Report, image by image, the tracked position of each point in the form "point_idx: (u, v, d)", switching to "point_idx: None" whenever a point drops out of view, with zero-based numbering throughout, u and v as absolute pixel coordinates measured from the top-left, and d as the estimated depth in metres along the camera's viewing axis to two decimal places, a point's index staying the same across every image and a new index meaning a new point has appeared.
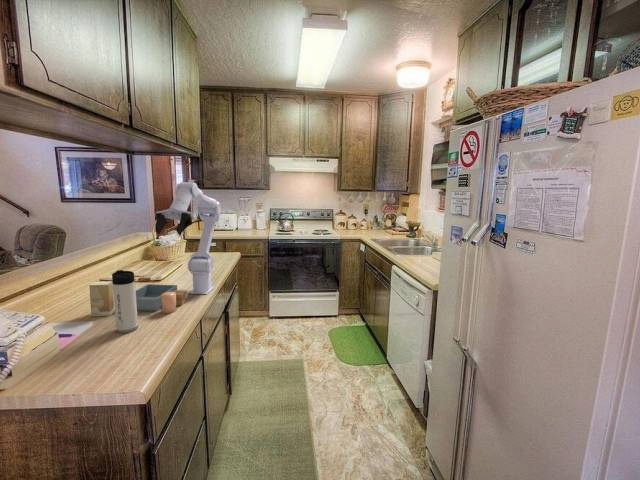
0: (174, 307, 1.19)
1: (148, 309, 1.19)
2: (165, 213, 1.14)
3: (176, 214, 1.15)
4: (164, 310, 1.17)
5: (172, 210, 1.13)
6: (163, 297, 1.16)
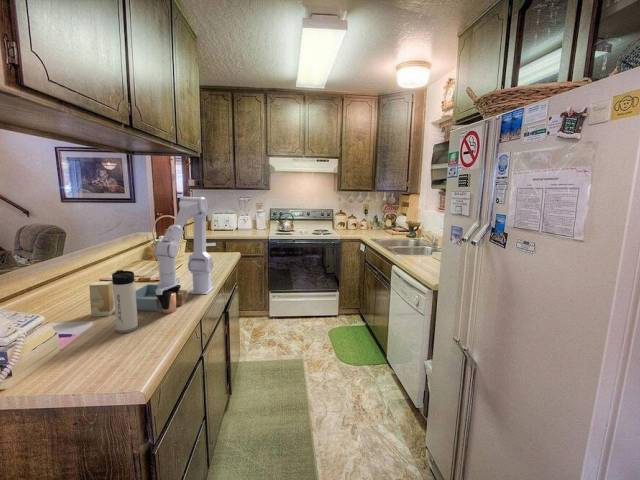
0: (174, 307, 1.19)
1: (148, 309, 1.19)
2: None
3: None
4: (164, 310, 1.17)
5: None
6: None
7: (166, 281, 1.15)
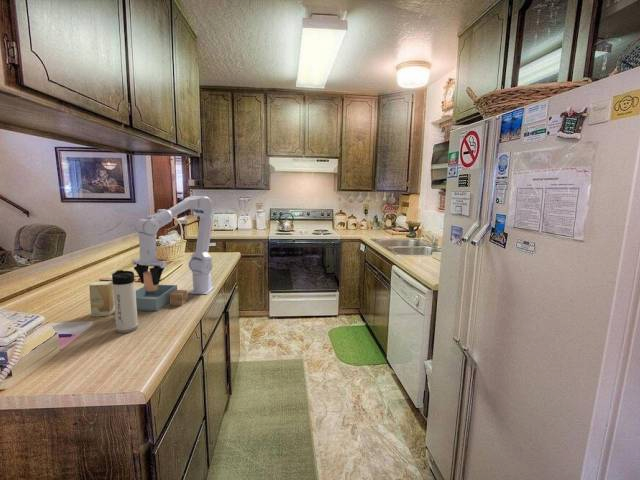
0: None
1: (148, 309, 1.19)
2: None
3: None
4: (153, 287, 1.20)
5: None
6: None
7: (156, 256, 1.19)
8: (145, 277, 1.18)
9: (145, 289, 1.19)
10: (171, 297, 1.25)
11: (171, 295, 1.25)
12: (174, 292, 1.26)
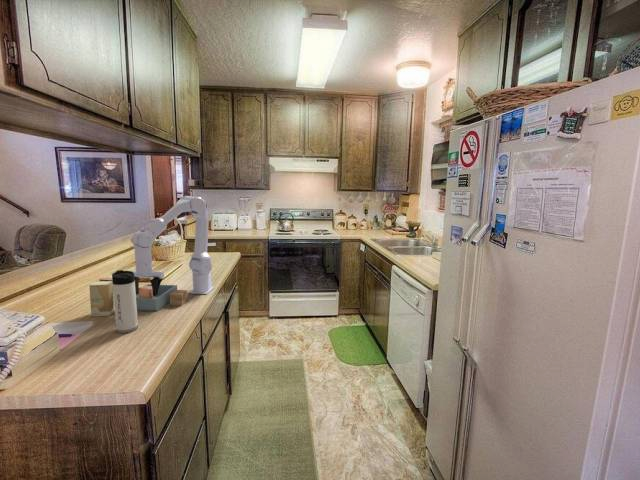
0: None
1: (148, 309, 1.19)
2: None
3: None
4: None
5: None
6: (149, 290, 1.21)
7: None
8: (142, 293, 1.20)
9: None
10: (171, 297, 1.25)
11: (171, 295, 1.25)
12: (174, 292, 1.26)
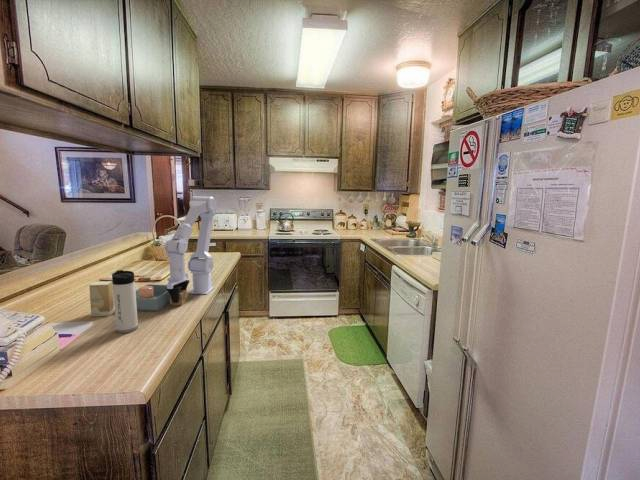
0: None
1: (148, 309, 1.19)
2: None
3: None
4: None
5: None
6: (150, 290, 1.21)
7: (176, 276, 1.23)
8: (142, 293, 1.20)
9: None
10: None
11: None
12: None
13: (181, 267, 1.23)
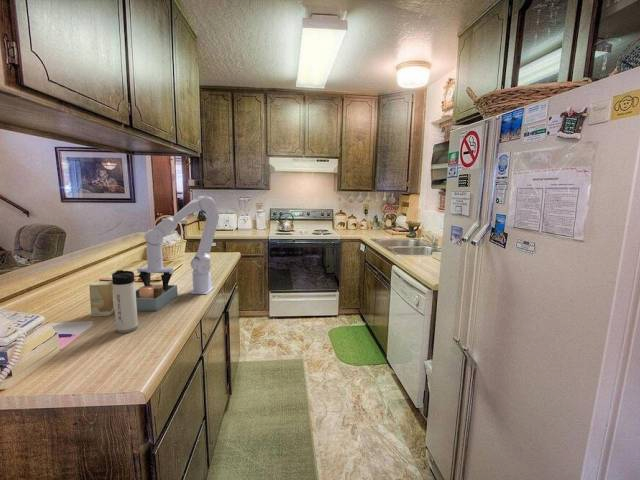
0: None
1: (148, 309, 1.19)
2: None
3: None
4: None
5: None
6: (151, 290, 1.22)
7: (162, 264, 1.29)
8: (143, 293, 1.20)
9: None
10: (160, 291, 1.29)
11: (160, 289, 1.29)
12: (156, 287, 1.29)
13: (153, 257, 1.25)
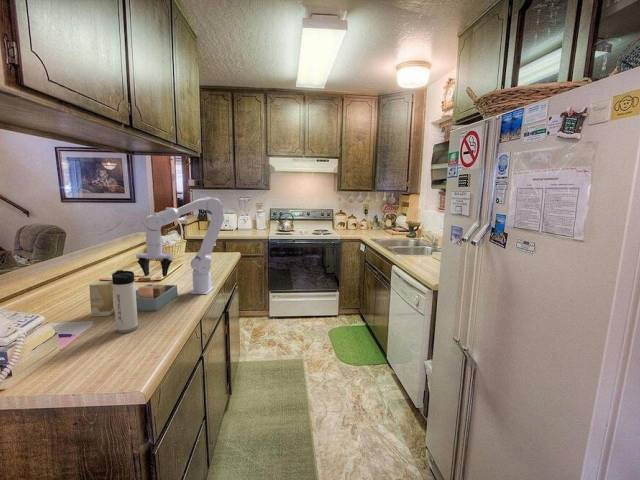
0: None
1: (148, 309, 1.19)
2: (145, 256, 1.27)
3: None
4: None
5: (150, 257, 1.25)
6: (150, 289, 1.22)
7: (161, 250, 1.28)
8: (144, 292, 1.20)
9: None
10: (160, 291, 1.29)
11: (160, 289, 1.29)
12: (156, 287, 1.29)
13: (152, 243, 1.24)
